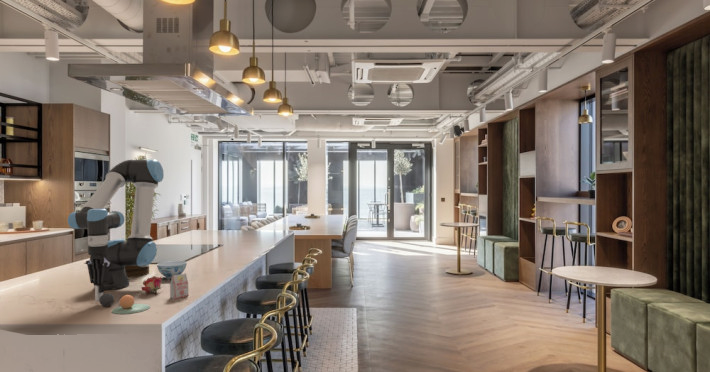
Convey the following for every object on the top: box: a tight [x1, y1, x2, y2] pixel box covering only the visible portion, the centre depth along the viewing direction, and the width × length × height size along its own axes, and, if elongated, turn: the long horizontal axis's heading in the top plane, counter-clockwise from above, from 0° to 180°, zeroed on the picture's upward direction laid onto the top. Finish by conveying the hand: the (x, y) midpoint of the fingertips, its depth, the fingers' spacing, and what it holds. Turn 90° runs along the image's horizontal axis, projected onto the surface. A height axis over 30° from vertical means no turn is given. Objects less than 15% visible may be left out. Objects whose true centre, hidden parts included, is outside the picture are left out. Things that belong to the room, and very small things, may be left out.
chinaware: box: [156, 260, 188, 280], centre depth 249 cm, size 15×15×8 cm
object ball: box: [119, 294, 135, 309], centre depth 190 cm, size 6×6×6 cm
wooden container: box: [125, 264, 150, 278], centre depth 259 cm, size 15×15×22 cm
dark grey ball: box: [98, 292, 115, 307], centre depth 194 cm, size 6×6×6 cm
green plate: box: [111, 303, 151, 315], centre depth 189 cm, size 14×14×1 cm
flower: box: [141, 275, 163, 294], centre depth 215 cm, size 10×9×8 cm
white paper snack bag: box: [169, 273, 189, 300], centre depth 208 cm, size 4×7×10 cm, turn 142°
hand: (99, 300), depth 196 cm, fingers closed
